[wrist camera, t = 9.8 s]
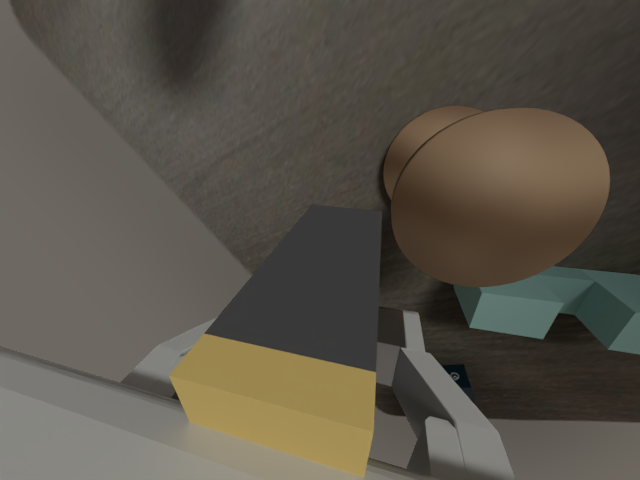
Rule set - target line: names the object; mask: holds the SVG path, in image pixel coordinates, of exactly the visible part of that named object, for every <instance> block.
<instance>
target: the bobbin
mask: <svg viewBox="0 0 640 480" xmlns="http://www.w3.org/2000/svg"><path fill="white" fill-rule="evenodd" d="M383 176H384V184H385V188H386V191H387V194H388V196H389V198H390V199H391V220H392V229H393V233H394V237H395V239H396V241H397V244H398V246H399V248H400V249H401V251H402V253H403V254H404V255H405V256H406V258H407V259H408V260H409V261H410V262H411V263H412V264H413V265H414V266H415V267H416V268H418V269H419V270H421V271H422V272H423V273H425V274H427V275H429V276H430V277H432V278H435V279H437V280H440V281H442V282H446V283H449V284H453V285H459V286H465V287H492V286H500V285H505V284H510V283H514V282H517V281H521V280H524V279H527V278H529V277H532V276H534V275H537V274H539V273H541V272H543V271H545V270H547V269H549V268H550V267H552V266H554V265H555V264H557V263H558V262H560V261H561V260H563V259H564V258H565V257H567V256H568V255H569V254H570V253H572V252H573V251H574V250H575V249H576V248H577V247H578V246H579V245H580V244H581V243H582V242H583V241H584V240H585V239H586V237H587V236H588V235H589V234H590V233H591V231H592V230H593V228H594V227H595V225H596V224H597V222H598V221H599V219H600V217H601V214H602V212H603V210H604V208H605V205H606V201H607V198H608V194H609V186H610V173H609V166H608V162H607V158H606V155H605V153H604V151H603V149H602V147H601V145H600V143H599V142H598V141H597V140H596V138H595V137H594V136H593V135H592V134H591V132H589V131H588V130H587V129H586V128H584V127H583V126H582V125H581V124H580V123H578V122H576V121H574V120H572V119H570V118H569V117H567V116H564V115H561V114H558V113H555V112H553V111H547V110H542V109H537V108H510V109H498V110H491V111H486V112H482V111H480V110H478V109H475V108H471V107H466V106H446V107H441V108H437V109H433V110H431V111H428V112H426V113H424V114H422V115H420V116H418V117H416V118H415V119H413V120H412V121H411V122H409V123H408V124H407V125H406V126H405V127H404V128H403V129H402V130H401V131H400V132H399V133H398V134H397V136H396V137H395V138H394V140H393V142H392V143H391V145H390V147H389V149H388V152H387V155H386V158H385V162H384V174H383Z"/></svg>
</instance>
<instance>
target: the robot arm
mask: <svg viewBox="0 0 640 480" xmlns="http://www.w3.org/2000/svg"><path fill="white" fill-rule="evenodd" d="M216 319H217V317H216V318H214V319H212V320H210V321H208V322H206V323H204V324H202V325H200V326H197V327H195V328H194V329H191V330H189V331H187V332H185V333H183V334H181V335H179V336H177V337H175V338H172V339H170V340H168V341H166V342H164V343H162V344H160V345H158V346H157V347H156V348H155V349H154V350H153V351H152V352H151V353H150V354H149V355H148V356H146V357H145V359H143V360H142V361H141V362H140V363H139V364H138V365H137V367H135V368H134V369H133V370H132V372H130V373H129V374H128V375H127V376H126V377H125V378H124V380H122V381H121V382H116V381H113V380H110V379H106V378H103V377H100V376H96V375H93V374H90V373H86V372H83V371H79V370H76V369H73V368H70V367H66V366H63V365H60V364H57V363H53V362H50V361H47V360H43V359H40V358H37V357H33V356H30V355H26V354H23V353H20V352H17V351H14V350H10V349H7V348H3V347H0V480H515V477H514V474H513V472H512V469H511V466H510V463H509V460H508V458H507V455H506V452H505V449H504V446H503V443H502V441H501V438H500V435H499V432H498V431H497V430H496V429H495V428H494V426H493V425H492V424H491V423H490V422H489V421H488V420H487V418H486V417H485V416H484V415H483V414H482V413H481V411H480V410H479V409H478V408H477V407H476V406H475V404H474V403H473V402H472V401H471V400H470V399H469V398H468V396H467V395H466V394H465V393H464V392H463V391H462V389H461V388H460V387H459V386H458V385H457V384H456V382H455V381H454V380H453V379H452V378H451V377H450V376H449V374H448V373H447V372H446V371H445V370H444V369H443V367H442V366H441V365H440V364H439V363H438V362H437V361H436V359H435V358H434V357H433V356H432V355H431V354H430V353H426V352H425V347H424V341H423V335H422V330H421V324H420V318H419V314H418V313H417V312H412V311H405V310H397V309H391V308H385V307H379V308H378V334H377V361H376V383H380V384H384V385H388V386H392V390H393V392H394V394H395V396H396V398H397V400H398V402H399V404H400V405H401V407H402V409H403V411H404V413H405V415H406V417H407V419H408V421H409V423H410V425H411V427H412V429H413V431H414V433H415V434H416V437H417V438H418V440H417V443H416V445H415V448H414V451H413V453H412V456H411V459H410V461H409V464H408V466H407V469H404V468H401V467H398V466H394V465H391V464H388V463H385V462H381V461H378V460H375V459H371V458H368V461H367V466H366V471H365V476H364V477H361V476H358V475H355V474H352V473H349V472H346V471H343V470H339V469H336V468H333V467H330V466H327V465H324V464H320V463H317V462H314V461H311V460H308V459H305V458H301V457H298V456H295V455H292V454H289V453H286V452H282V451H279V450H276V449H273V448H270V447H267V446H263V445H260V444H257V443H254V442H251V441H248V440H245V439H241V438H238V437H235V436H232V435H229V434H226V433H222V432H219V431H216V430H213V429H210V428H207V427H203V426H200V425H197V424H194V423H191V422H189V420H188V418H187V415H186V413H185V411H184V409H183V406H182V404H181V402H180V399H179V397H178V395H177V393H176V390H175V388H174V386H173V384H172V381H171V379H170V377H169V375H170V373H171V372H172V371H173V370H174V369H175V367H176V366H177V365H178V364H179V363H180V361H181V360H182V359H183V358H184V357H185V355H186V354H187V353H188V352H189V351H190V350H191V348H192V347H193V346H194V345H195V344H196V342H197V341H198V340H199V339H200V338H201V336H202V335H203V334H204V333H205V332H206V330H207V329H208V328H209V327H210V326H211V325H212V323H213V322H214V321H215V320H216Z"/></svg>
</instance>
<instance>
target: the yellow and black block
mask: <svg viewBox="0 0 640 480" xmlns="http://www.w3.org/2000/svg"><path fill="white" fill-rule="evenodd" d="M381 229H382V211H373V210H362V209H351V208H340V207H329V206H318V205H311V207H310V208H309V209H308V210H307V211H306V212H305V214H304V215H303V216H302V217H301V218H300V220H299V221H298V222H297V223H296V224H295V226H294V227H293V228H292V229H291V230H290V232H289V233H288V234H287V235H286V236H285V237H284V239H283V240H282V241H281V242H280V243H279V245H278V246H277V247H276V248H275V249H274V251H273V252H272V253H271V254H270V255H269V257H268V258H267V259H266V260H265V261H264V263H263V264H262V265H261V266H260V267H259V268H258V270H257V271H256V272H255V273H254V274H253V276H252V277H251V278H250V279H249V280H248V282H247V283H246V284H245V285H244V286H243V288H242V289H241V290H240V291H239V292H238V294H237V295H236V296H235V297H234V298H233V299H232V301H231V302H230V303H229V304H228V305H227V307H226V308H225V309H224V310H223V311H222V313H221V314H220V315H219V316H218V317H217V319H216V320H215V321H214V322H213V323H212V325H211V326H210V327H209V328H208V329H207V330H206V332H205V333H204V334H203V335H202V336H201V338H200V339H199V340H198V341H197V342H196V344H195V345H194V346H193V347H192V348H191V350H190V351H189V352H188V353H187V354H186V355H185V357H184V358H183V359H182V360H181V361H180V363H179V364H178V365H177V366H176V367H175V369H174V370H173V371H172V372H171V373H170V375H169V377H170V379H171V381H172V384H173V386H174V388H175V390H176V393H177V395H178V397H179V399H180V402H181V404H182V406H183V409H184V411H185V413H186V415H187V418H188V420H189V422H191V423H194V424H197V425H200V426H203V427H207V428H210V429H213V430H216V431H219V432H222V433H226V434H229V435H232V436H235V437H238V438H241V439H245V440H248V441H251V442H254V443H257V444H260V445H263V446H267V447H270V448H273V449H276V450H279V451H282V452H286V453H289V454H292V455H295V456H298V457H301V458H305V459H308V460H311V461H314V462H317V463H320V464H324V465H327V466H330V467H333V468H336V469H339V470H343V471H346V472H349V473H352V474H355V475H358V476H361V477H364V476H365V471H366V466H367V461H368V457H369V452H370V447H371V443H372V438H373V433H374V414H375V413H374V412H375V387H376V361H377V334H378V308H379V281H380V255H381Z"/></svg>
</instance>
